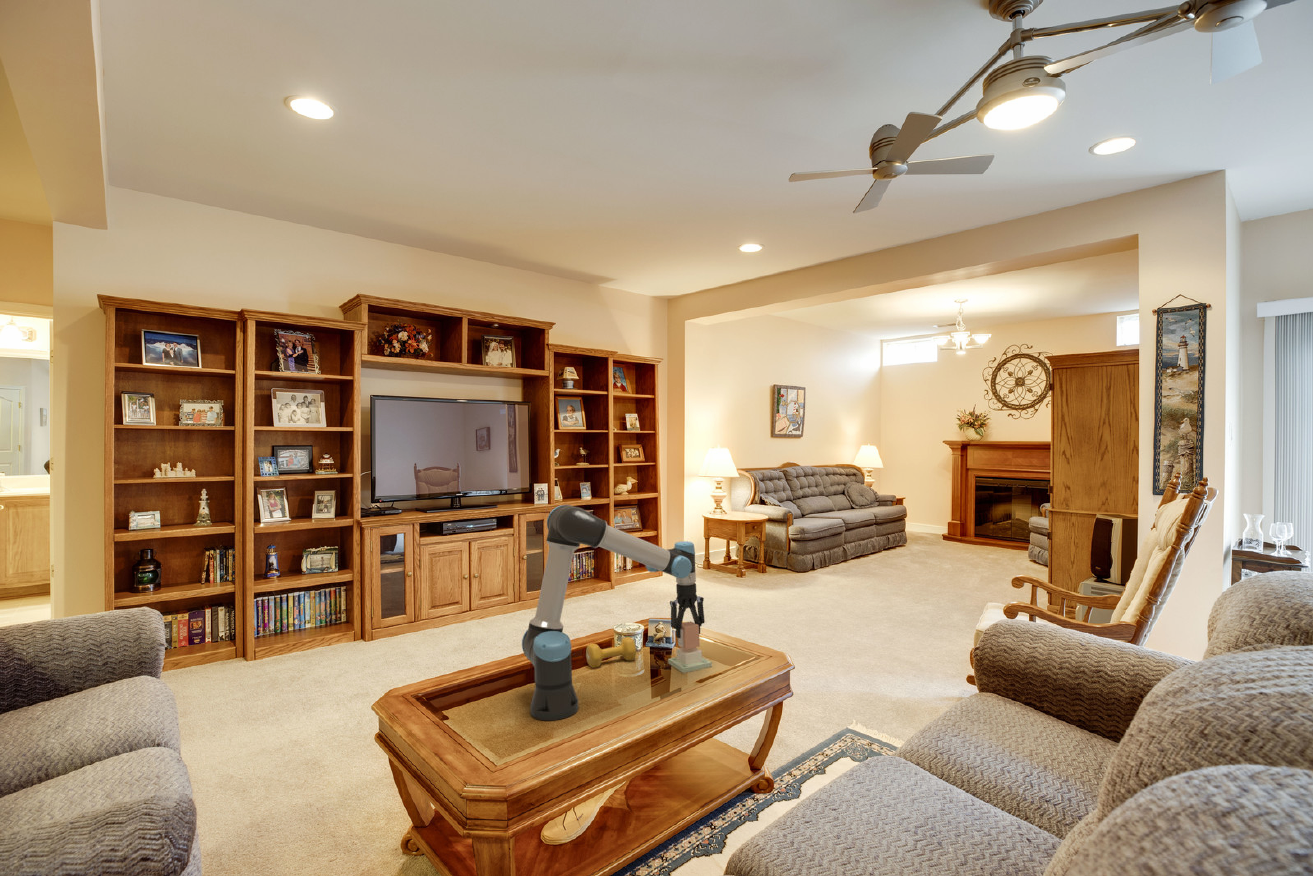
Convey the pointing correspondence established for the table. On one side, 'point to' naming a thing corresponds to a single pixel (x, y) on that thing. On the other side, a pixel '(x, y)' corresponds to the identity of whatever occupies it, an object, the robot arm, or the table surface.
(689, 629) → the top brick
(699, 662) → the tower base
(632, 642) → the dumbbell
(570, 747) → the table surface
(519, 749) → the table surface
